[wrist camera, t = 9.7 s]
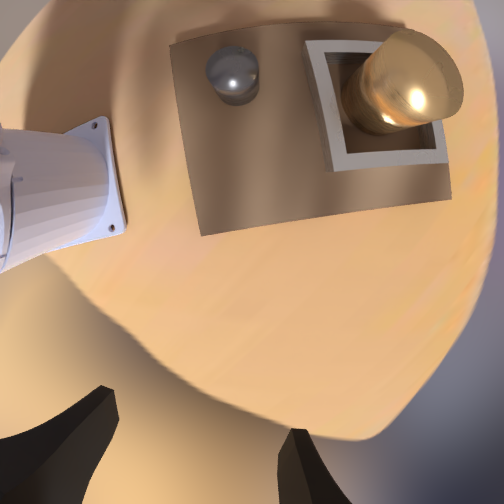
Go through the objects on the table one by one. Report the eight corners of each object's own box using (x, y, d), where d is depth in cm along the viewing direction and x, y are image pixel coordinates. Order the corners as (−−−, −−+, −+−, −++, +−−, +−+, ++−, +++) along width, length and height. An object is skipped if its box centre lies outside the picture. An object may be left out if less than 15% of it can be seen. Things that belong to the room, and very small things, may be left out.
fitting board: (205, 232, 17) (187, 249, 13) (174, 52, 14) (152, 24, 10) (441, 197, 16) (480, 205, 11) (407, 36, 13) (434, 12, 8)
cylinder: (350, 138, 14) (401, 118, 8) (333, 73, 13) (370, 25, 7) (409, 133, 14) (473, 119, 8) (392, 72, 13) (445, 36, 7)
